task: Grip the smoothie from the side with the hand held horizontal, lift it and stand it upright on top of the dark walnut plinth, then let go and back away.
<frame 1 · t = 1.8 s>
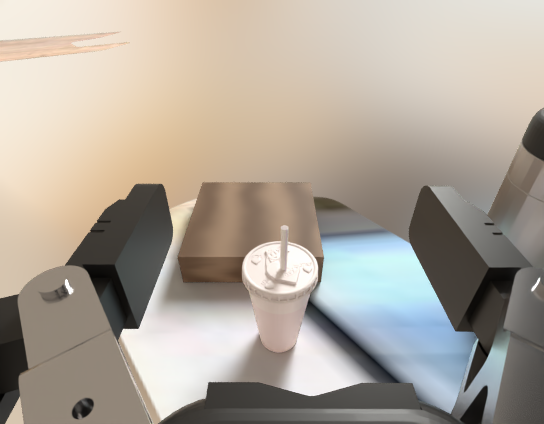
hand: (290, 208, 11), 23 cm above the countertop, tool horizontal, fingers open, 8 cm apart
smoothie: (278, 336, 33), on the countertop
plinth: (254, 237, 45), on the countertop
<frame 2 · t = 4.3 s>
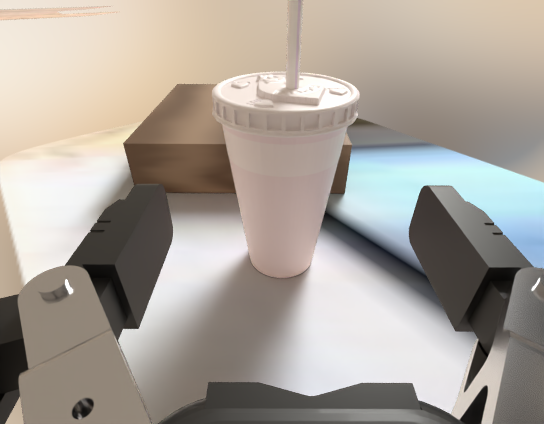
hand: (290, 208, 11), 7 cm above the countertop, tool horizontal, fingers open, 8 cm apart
smoothie: (280, 257, 20), on the countertop
plinth: (247, 149, 32), on the countertop
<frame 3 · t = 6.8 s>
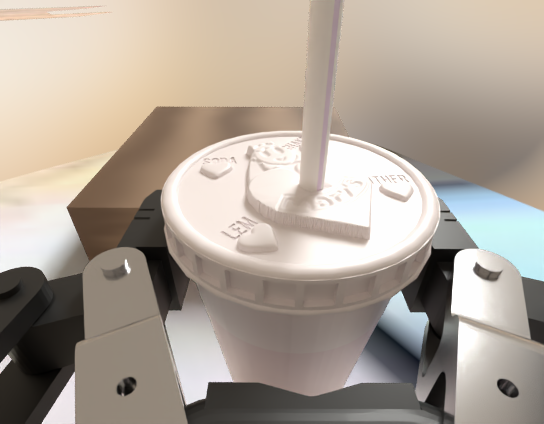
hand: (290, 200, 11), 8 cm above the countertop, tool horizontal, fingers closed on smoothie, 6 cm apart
smoothie: (286, 390, 14), on the countertop, touching gripper
plinth: (241, 192, 26), on the countertop
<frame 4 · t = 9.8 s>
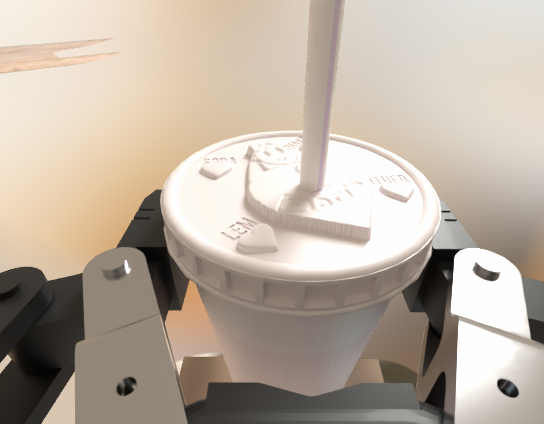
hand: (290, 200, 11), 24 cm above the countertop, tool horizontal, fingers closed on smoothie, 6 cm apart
smoothie: (285, 391, 14), point 16 cm above the countertop, touching gripper
when the fingers open (13 cm above the countertop, at t = 12.9 s): smoothie moves 2 cm, resting on plinth.
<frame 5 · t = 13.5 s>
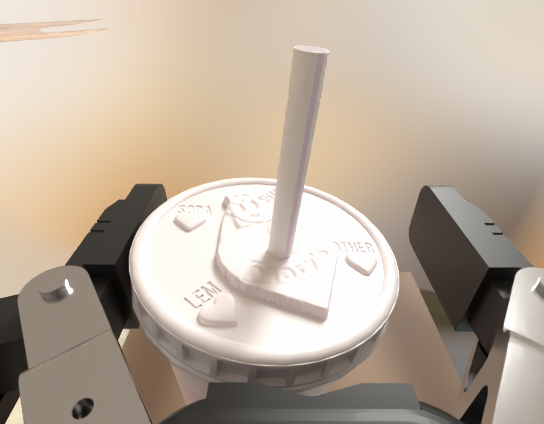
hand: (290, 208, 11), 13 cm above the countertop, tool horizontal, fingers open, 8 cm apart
smoothie: (244, 423, 14), point 4 cm above the countertop, touching gripper, plinth
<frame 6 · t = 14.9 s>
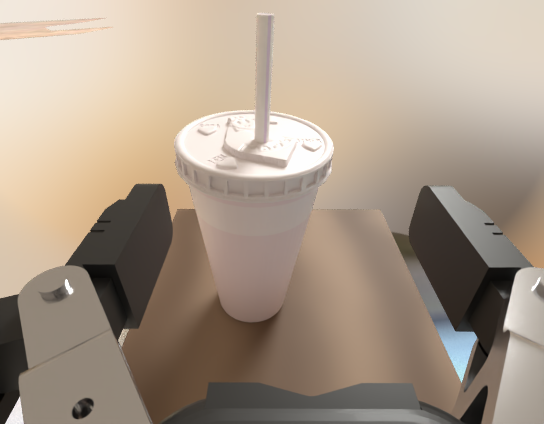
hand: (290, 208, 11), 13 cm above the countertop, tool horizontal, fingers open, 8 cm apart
smoothie: (252, 296, 19), point 4 cm above the countertop, touching plinth
plinth: (280, 327, 22), on the countertop
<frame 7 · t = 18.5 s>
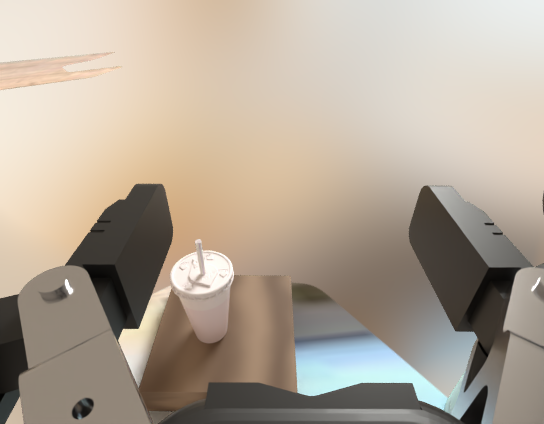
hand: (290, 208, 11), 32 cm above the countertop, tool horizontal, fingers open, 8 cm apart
smoothie: (211, 330, 39), point 4 cm above the countertop, touching plinth
plinth: (229, 343, 42), on the countertop
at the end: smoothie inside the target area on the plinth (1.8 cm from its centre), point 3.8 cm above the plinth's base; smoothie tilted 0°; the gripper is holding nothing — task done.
